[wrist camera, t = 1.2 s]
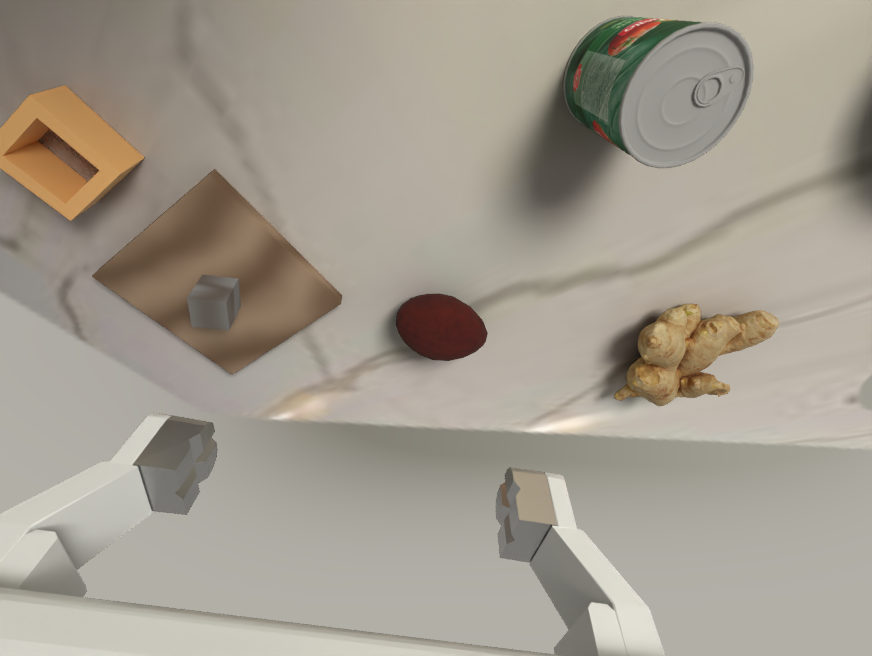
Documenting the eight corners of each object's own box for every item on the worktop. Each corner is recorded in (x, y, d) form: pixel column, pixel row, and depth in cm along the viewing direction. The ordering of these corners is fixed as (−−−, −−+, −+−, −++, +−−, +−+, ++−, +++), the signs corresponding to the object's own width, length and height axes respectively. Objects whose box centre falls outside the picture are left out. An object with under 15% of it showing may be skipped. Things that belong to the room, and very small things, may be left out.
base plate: (100, 268, 41) (65, 300, 37) (214, 168, 36) (190, 192, 32) (236, 365, 50) (221, 401, 45) (342, 295, 45) (337, 327, 41)
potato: (407, 271, 44) (409, 305, 39) (495, 298, 47) (506, 333, 42) (385, 325, 48) (384, 361, 43) (467, 346, 51) (475, 383, 46)
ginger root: (577, 386, 55) (614, 426, 47) (638, 265, 49) (691, 290, 42) (674, 405, 60) (720, 444, 52) (739, 298, 54) (802, 325, 47)
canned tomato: (575, 144, 38) (630, 189, 29) (551, 48, 33) (608, 66, 24) (666, 101, 36) (753, 134, 28) (655, -7, 32) (755, -8, 23)
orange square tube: (17, 137, 34) (-21, 152, 31) (65, 85, 32) (29, 94, 29) (97, 202, 37) (70, 221, 34) (144, 157, 35) (120, 173, 32)
